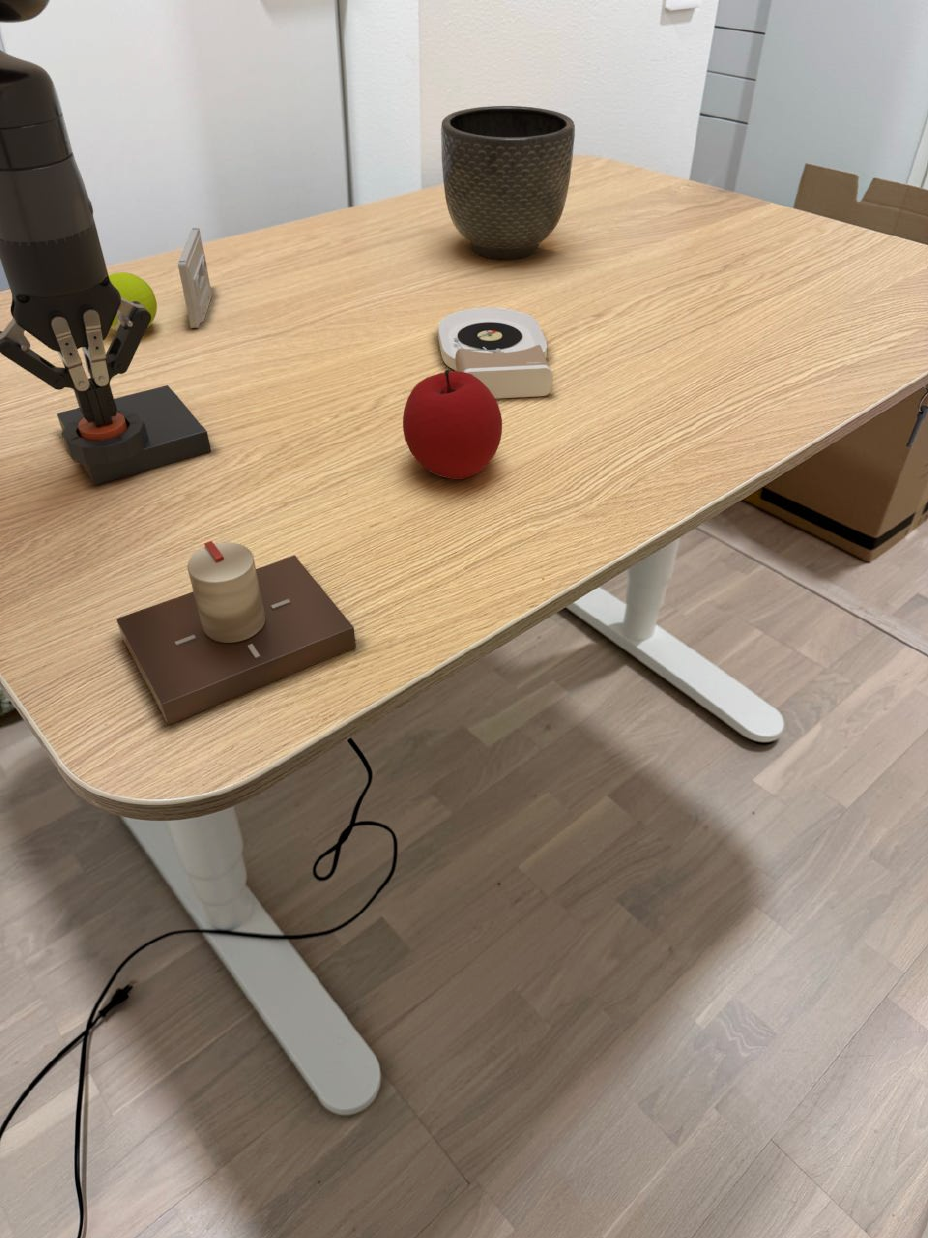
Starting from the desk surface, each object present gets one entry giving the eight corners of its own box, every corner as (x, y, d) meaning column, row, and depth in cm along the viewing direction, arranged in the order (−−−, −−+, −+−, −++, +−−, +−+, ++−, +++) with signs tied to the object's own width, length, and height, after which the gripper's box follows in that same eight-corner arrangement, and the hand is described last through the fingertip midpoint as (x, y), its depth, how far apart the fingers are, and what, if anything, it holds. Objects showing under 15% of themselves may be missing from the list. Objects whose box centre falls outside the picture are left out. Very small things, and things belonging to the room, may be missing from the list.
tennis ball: (90, 335, 105) (74, 277, 101) (133, 315, 109) (119, 259, 105) (132, 348, 103) (117, 290, 98) (174, 327, 107) (162, 270, 102)
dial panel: (168, 725, 60) (161, 703, 59) (122, 639, 66) (115, 617, 65) (356, 647, 66) (353, 625, 64) (297, 574, 72) (294, 553, 71)
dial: (275, 628, 64) (263, 563, 60) (216, 651, 62) (200, 586, 59) (250, 594, 67) (237, 531, 63) (193, 616, 65) (176, 552, 61)
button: (91, 458, 80) (85, 437, 79) (79, 438, 83) (72, 418, 82) (136, 445, 82) (130, 425, 81) (122, 426, 85) (117, 406, 83)
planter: (449, 225, 133) (448, 103, 123) (566, 229, 132) (575, 106, 122) (435, 269, 121) (433, 136, 110) (565, 274, 119) (575, 140, 109)
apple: (521, 475, 83) (526, 374, 76) (434, 504, 79) (432, 400, 73) (470, 431, 89) (470, 333, 82) (387, 456, 85) (381, 356, 79)
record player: (450, 372, 91) (433, 296, 106) (450, 400, 93) (433, 322, 108) (564, 366, 92) (531, 292, 107) (562, 394, 94) (530, 318, 109)
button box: (87, 494, 81) (74, 455, 78) (53, 436, 88) (40, 398, 85) (215, 455, 85) (207, 417, 83) (172, 404, 93) (164, 367, 90)
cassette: (202, 328, 106) (189, 263, 101) (186, 329, 106) (172, 263, 101) (215, 289, 115) (203, 226, 110) (200, 289, 115) (188, 227, 110)
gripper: (113, 193, 75) (160, 386, 86) (-59, 222, 69) (15, 424, 81) (142, 218, 70) (187, 419, 81) (-41, 252, 65) (35, 461, 76)
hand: (101, 421), depth 81 cm, fingers closed
